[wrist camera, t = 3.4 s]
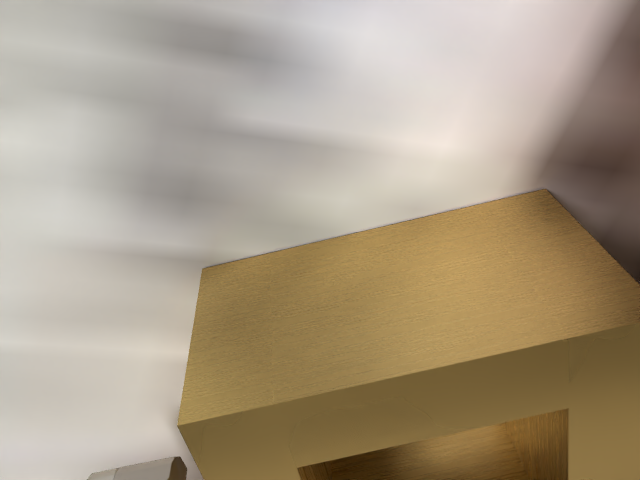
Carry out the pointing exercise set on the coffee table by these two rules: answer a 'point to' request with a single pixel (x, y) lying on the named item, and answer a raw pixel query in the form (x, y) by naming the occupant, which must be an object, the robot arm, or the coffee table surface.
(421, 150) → the coffee table surface
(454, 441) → the wooden square frame
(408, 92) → the coffee table surface
